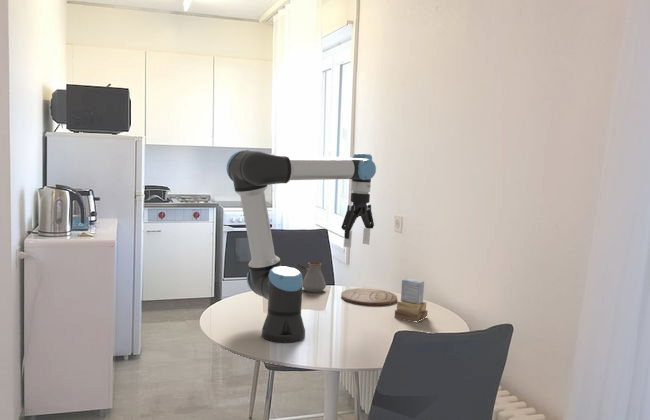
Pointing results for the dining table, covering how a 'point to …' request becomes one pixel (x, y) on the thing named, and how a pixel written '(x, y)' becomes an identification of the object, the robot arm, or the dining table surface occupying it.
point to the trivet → (369, 297)
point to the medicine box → (412, 291)
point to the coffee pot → (313, 278)
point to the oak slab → (411, 307)
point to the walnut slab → (410, 315)
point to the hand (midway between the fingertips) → (356, 245)
